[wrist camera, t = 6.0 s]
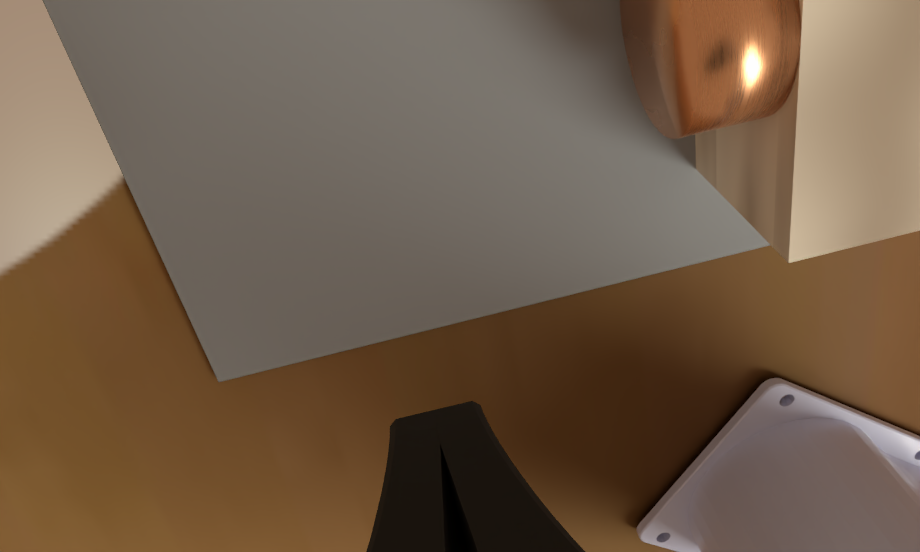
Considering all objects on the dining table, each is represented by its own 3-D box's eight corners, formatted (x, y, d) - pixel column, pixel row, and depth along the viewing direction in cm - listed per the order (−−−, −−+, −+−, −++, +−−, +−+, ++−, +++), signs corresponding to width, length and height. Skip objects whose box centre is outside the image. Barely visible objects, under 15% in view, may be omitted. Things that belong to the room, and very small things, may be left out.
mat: (1165, -554, 15) (1174, -557, 15) (1003, 183, 24) (1008, 185, 24) (-87, -289, 14) (-92, -290, 14) (219, 377, 23) (218, 382, 23)
